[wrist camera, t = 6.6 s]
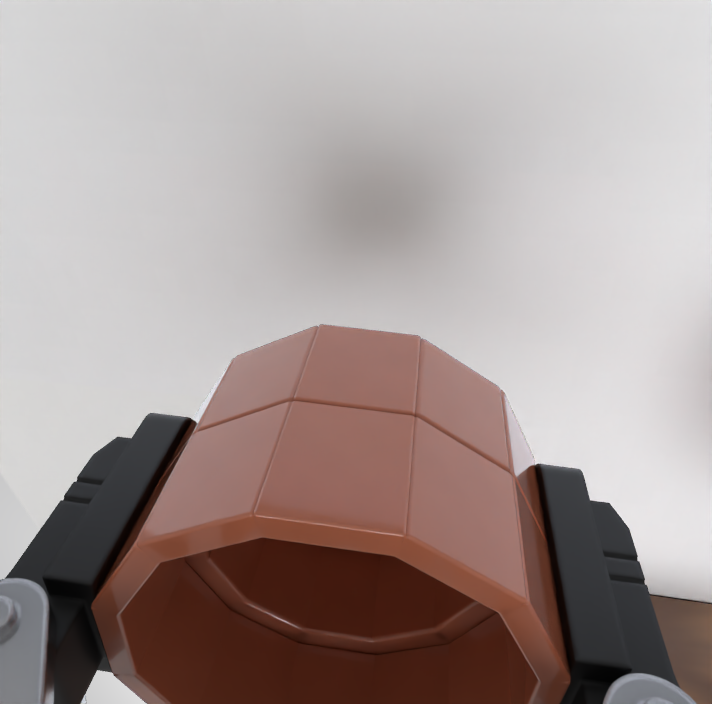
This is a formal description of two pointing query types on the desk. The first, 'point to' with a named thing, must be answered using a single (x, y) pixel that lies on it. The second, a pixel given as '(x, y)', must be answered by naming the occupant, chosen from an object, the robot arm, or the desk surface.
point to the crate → (688, 643)
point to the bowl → (341, 539)
